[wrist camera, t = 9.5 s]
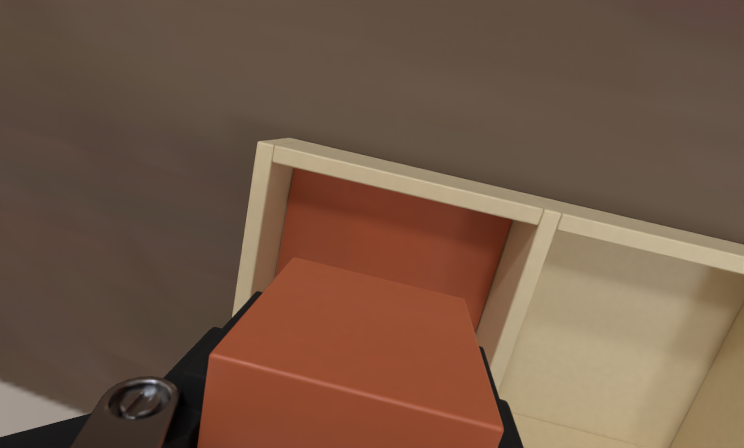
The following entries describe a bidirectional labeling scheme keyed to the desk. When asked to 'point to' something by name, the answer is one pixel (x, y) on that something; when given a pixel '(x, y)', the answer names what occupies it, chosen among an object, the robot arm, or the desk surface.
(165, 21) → the desk surface
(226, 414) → the terracotta block
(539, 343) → the sorter
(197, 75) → the desk surface
